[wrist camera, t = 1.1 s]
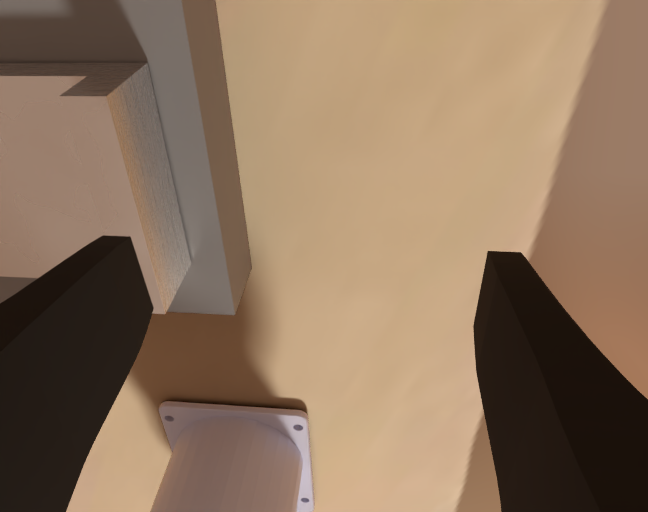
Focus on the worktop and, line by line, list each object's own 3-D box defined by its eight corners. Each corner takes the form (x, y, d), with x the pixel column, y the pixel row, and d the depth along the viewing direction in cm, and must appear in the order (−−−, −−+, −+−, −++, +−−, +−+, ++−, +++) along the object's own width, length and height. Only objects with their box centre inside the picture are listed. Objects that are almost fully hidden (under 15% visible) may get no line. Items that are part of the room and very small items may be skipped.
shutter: (191, 263, 19) (165, 314, 17) (7, 255, 20) (-40, 304, 18) (147, 62, 15) (106, 96, 13) (-83, 62, 16) (-158, 94, 14)
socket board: (251, 267, 23) (235, 315, 21) (-51, 255, 24) (-100, 298, 22) (207, -55, 16) (174, -40, 14) (-215, -46, 17) (-312, -31, 15)
